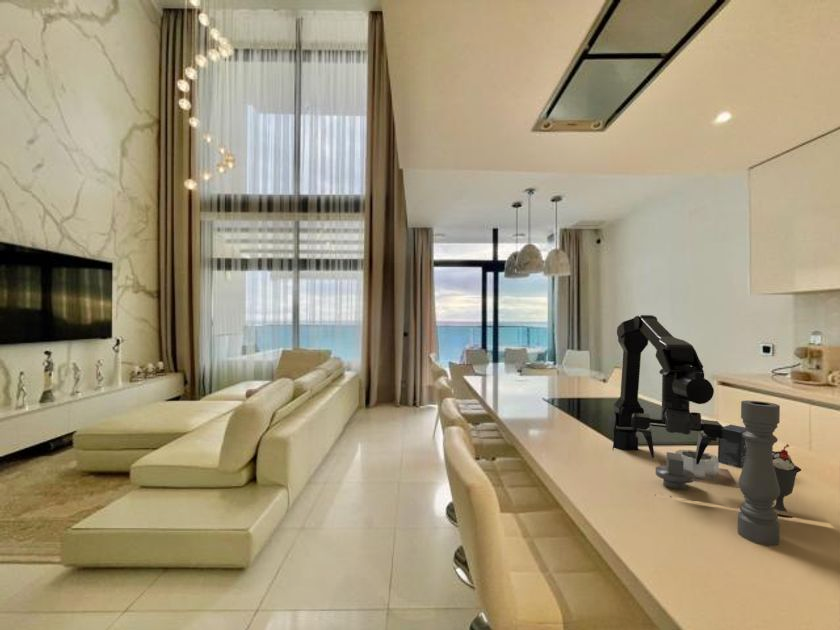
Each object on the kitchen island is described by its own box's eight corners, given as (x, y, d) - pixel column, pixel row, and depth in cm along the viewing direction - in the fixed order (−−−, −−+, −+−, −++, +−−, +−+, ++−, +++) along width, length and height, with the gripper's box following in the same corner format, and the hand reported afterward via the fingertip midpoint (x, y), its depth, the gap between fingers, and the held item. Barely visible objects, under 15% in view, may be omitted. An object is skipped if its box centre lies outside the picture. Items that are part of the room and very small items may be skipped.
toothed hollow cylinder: (677, 475, 110) (677, 457, 110) (674, 464, 118) (674, 448, 118) (720, 481, 106) (721, 463, 106) (714, 470, 114) (714, 453, 114)
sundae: (791, 522, 87) (792, 448, 87) (753, 509, 93) (754, 439, 93) (807, 516, 90) (808, 444, 90) (769, 503, 96) (770, 436, 96)
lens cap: (656, 491, 101) (656, 458, 101) (654, 480, 108) (654, 449, 108) (696, 498, 98) (696, 464, 98) (691, 486, 105) (692, 454, 105)
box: (740, 471, 116) (741, 432, 116) (717, 464, 121) (717, 427, 121) (752, 466, 121) (753, 428, 121) (729, 460, 125) (729, 423, 125)
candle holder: (729, 529, 83) (731, 400, 84) (759, 528, 84) (760, 400, 84) (756, 546, 77) (759, 407, 77) (788, 545, 78) (790, 407, 78)
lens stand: (662, 479, 109) (662, 475, 109) (659, 462, 122) (659, 459, 122) (740, 491, 102) (740, 487, 102) (727, 472, 115) (727, 469, 115)
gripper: (632, 397, 100) (631, 464, 100) (730, 405, 92) (728, 479, 92) (632, 390, 110) (631, 451, 110) (719, 397, 102) (718, 463, 102)
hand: (674, 460), depth 103 cm, fingers open, 9 cm apart
